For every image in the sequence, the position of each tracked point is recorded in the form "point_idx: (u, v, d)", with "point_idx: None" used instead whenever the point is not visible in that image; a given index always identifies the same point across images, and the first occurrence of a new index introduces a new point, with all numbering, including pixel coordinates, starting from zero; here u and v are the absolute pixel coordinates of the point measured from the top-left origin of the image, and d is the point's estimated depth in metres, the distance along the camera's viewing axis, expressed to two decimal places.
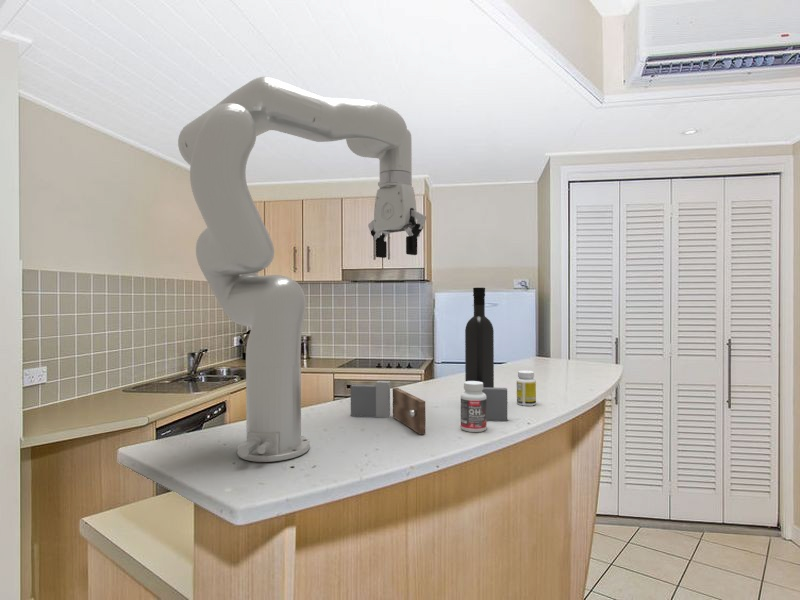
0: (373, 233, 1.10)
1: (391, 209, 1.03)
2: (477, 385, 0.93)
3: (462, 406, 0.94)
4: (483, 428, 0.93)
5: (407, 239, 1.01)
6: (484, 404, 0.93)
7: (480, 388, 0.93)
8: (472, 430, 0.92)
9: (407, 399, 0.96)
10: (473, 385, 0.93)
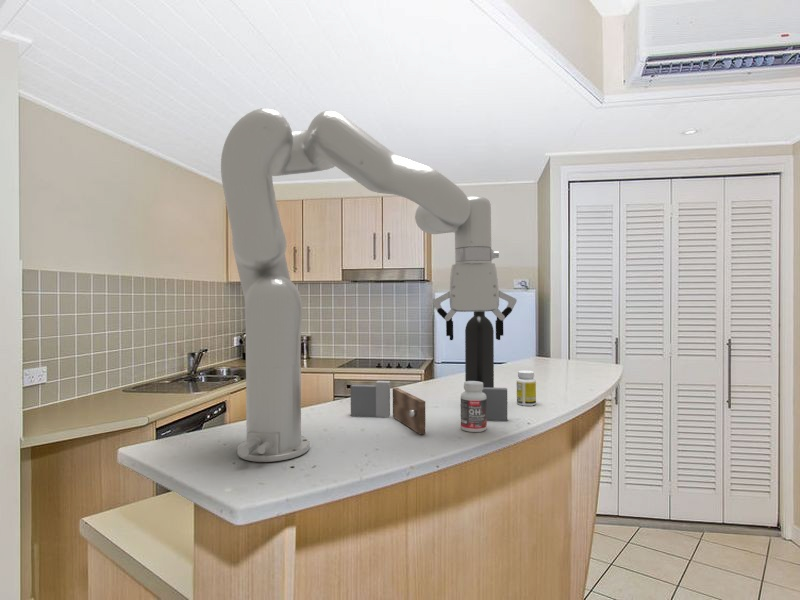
0: None
1: None
2: (477, 385, 0.93)
3: (462, 406, 0.94)
4: (483, 428, 0.93)
5: None
6: (484, 404, 0.93)
7: (480, 388, 0.93)
8: (472, 430, 0.92)
9: (407, 399, 0.96)
10: (473, 385, 0.93)
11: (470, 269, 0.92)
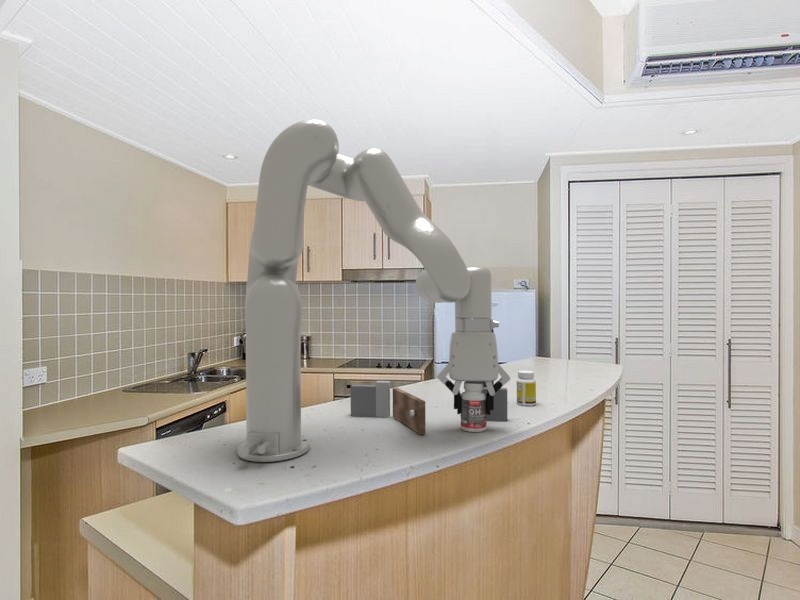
0: None
1: None
2: (477, 385, 0.93)
3: (462, 406, 0.94)
4: (483, 428, 0.93)
5: None
6: (484, 404, 0.93)
7: (480, 388, 0.93)
8: (472, 430, 0.92)
9: (407, 399, 0.96)
10: (473, 385, 0.93)
11: (469, 339, 0.92)
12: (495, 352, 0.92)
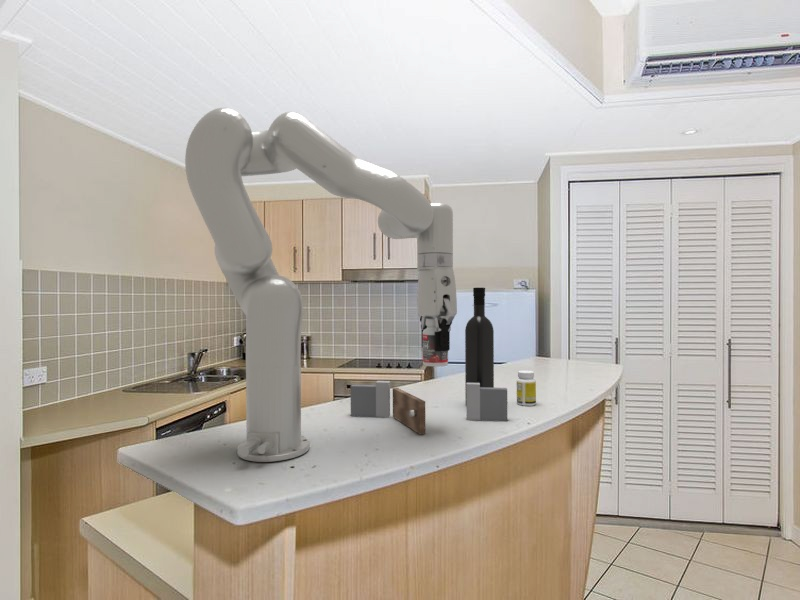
0: None
1: None
2: (428, 320, 0.94)
3: None
4: (431, 363, 0.93)
5: None
6: (433, 339, 0.93)
7: (432, 324, 0.94)
8: (423, 363, 0.95)
9: (407, 399, 0.96)
10: (426, 320, 0.95)
11: (422, 275, 0.95)
12: (436, 287, 0.91)
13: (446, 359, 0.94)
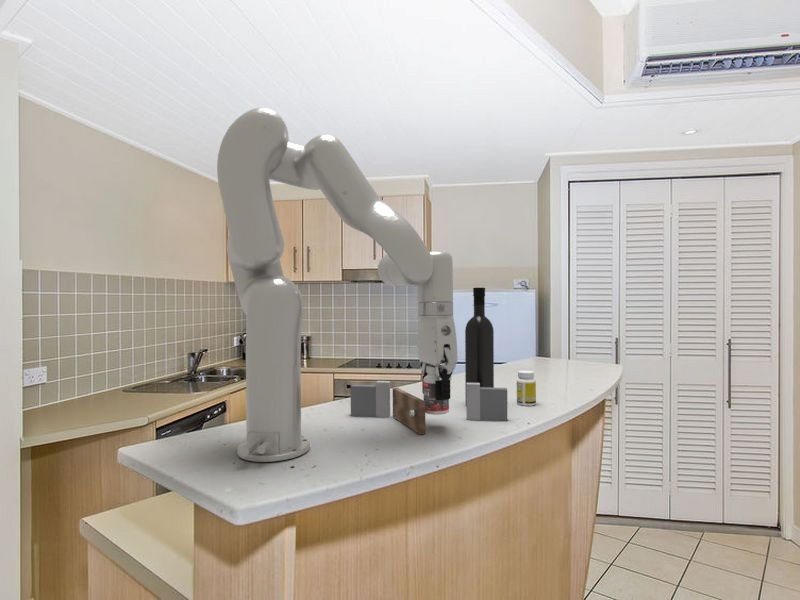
0: None
1: None
2: (429, 368, 0.94)
3: None
4: (432, 411, 0.93)
5: None
6: (434, 388, 0.93)
7: (432, 372, 0.94)
8: None
9: (407, 399, 0.96)
10: (427, 367, 0.95)
11: (423, 322, 0.95)
12: (436, 337, 0.91)
13: (447, 407, 0.94)
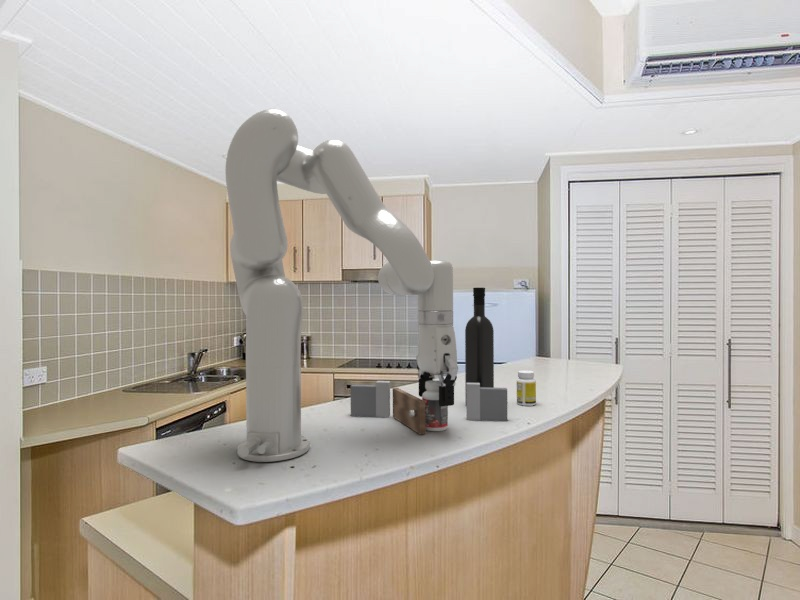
0: None
1: None
2: (428, 384, 0.94)
3: None
4: (431, 428, 0.93)
5: None
6: (433, 404, 0.93)
7: (431, 388, 0.94)
8: None
9: (407, 399, 0.96)
10: (426, 383, 0.95)
11: (423, 331, 0.95)
12: (436, 346, 0.91)
13: (446, 423, 0.94)
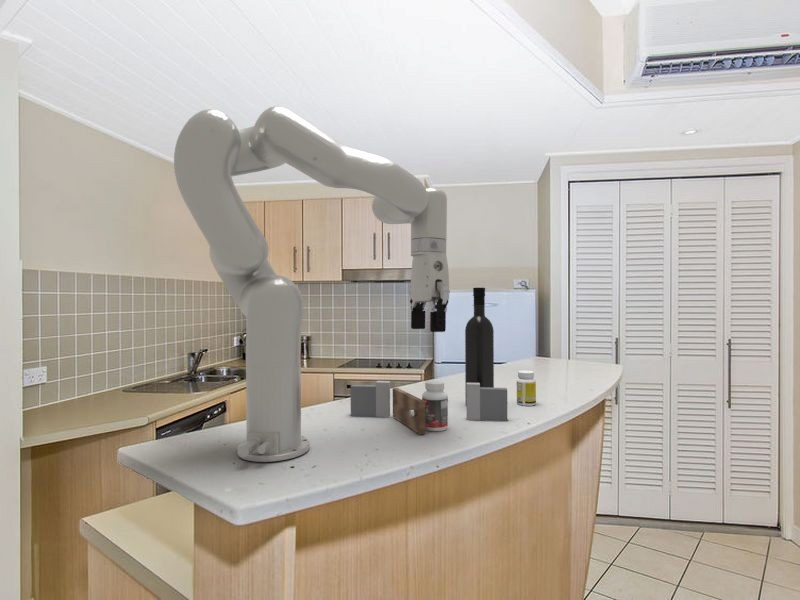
0: None
1: None
2: (428, 384, 0.94)
3: None
4: (431, 428, 0.93)
5: None
6: (433, 404, 0.93)
7: (431, 388, 0.94)
8: None
9: (407, 399, 0.96)
10: (426, 383, 0.95)
11: (416, 260, 0.95)
12: (428, 272, 0.91)
13: (446, 423, 0.94)
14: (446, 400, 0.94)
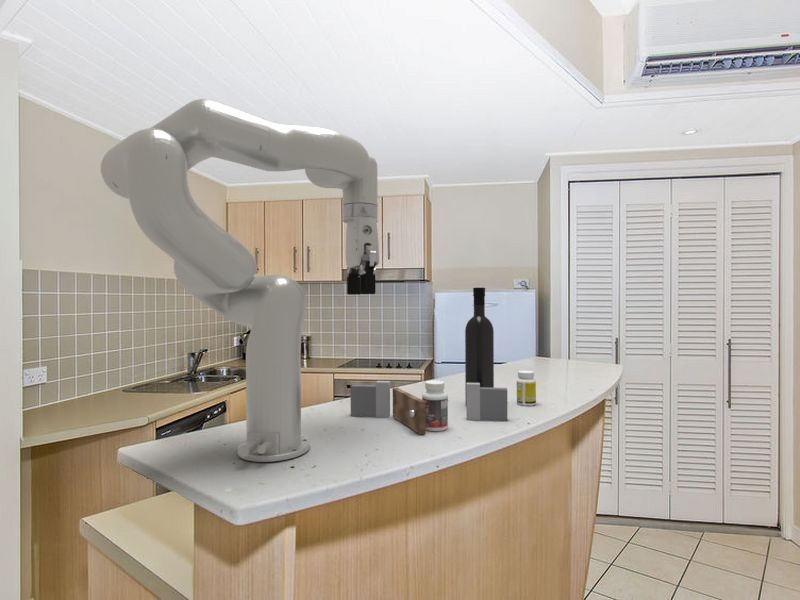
0: None
1: None
2: (428, 384, 0.94)
3: None
4: (431, 428, 0.93)
5: None
6: (433, 404, 0.93)
7: (431, 388, 0.94)
8: None
9: (407, 399, 0.96)
10: (426, 383, 0.95)
11: (348, 226, 0.97)
12: (357, 235, 0.93)
13: (446, 423, 0.94)
14: (446, 400, 0.94)
